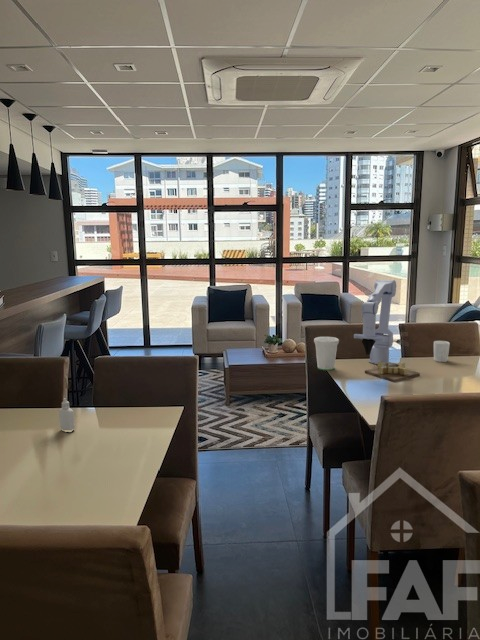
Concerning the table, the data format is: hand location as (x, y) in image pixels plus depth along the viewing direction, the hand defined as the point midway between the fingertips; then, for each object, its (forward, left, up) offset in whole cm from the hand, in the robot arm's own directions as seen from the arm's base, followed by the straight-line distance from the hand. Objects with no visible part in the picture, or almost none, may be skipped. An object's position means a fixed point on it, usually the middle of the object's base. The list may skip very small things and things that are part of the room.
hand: (368, 354), depth 220 cm
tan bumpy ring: (+7, +10, -8) cm, 14 cm away
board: (+7, +10, -10) cm, 15 cm away
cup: (-19, -9, -10) cm, 24 cm away
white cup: (+5, +51, -10) cm, 52 cm away
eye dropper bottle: (-12, -137, -10) cm, 138 cm away
